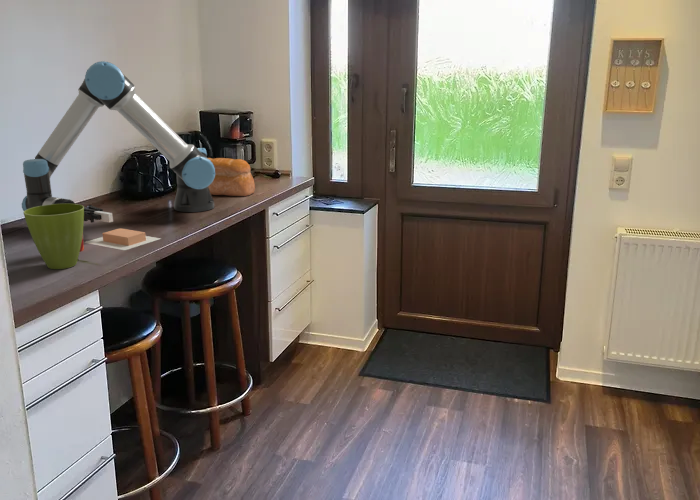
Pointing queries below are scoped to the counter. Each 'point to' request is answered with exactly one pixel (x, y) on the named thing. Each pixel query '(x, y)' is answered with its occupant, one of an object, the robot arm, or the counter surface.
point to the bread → (231, 177)
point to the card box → (124, 236)
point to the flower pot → (57, 233)
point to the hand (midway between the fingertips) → (110, 217)
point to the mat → (118, 246)
